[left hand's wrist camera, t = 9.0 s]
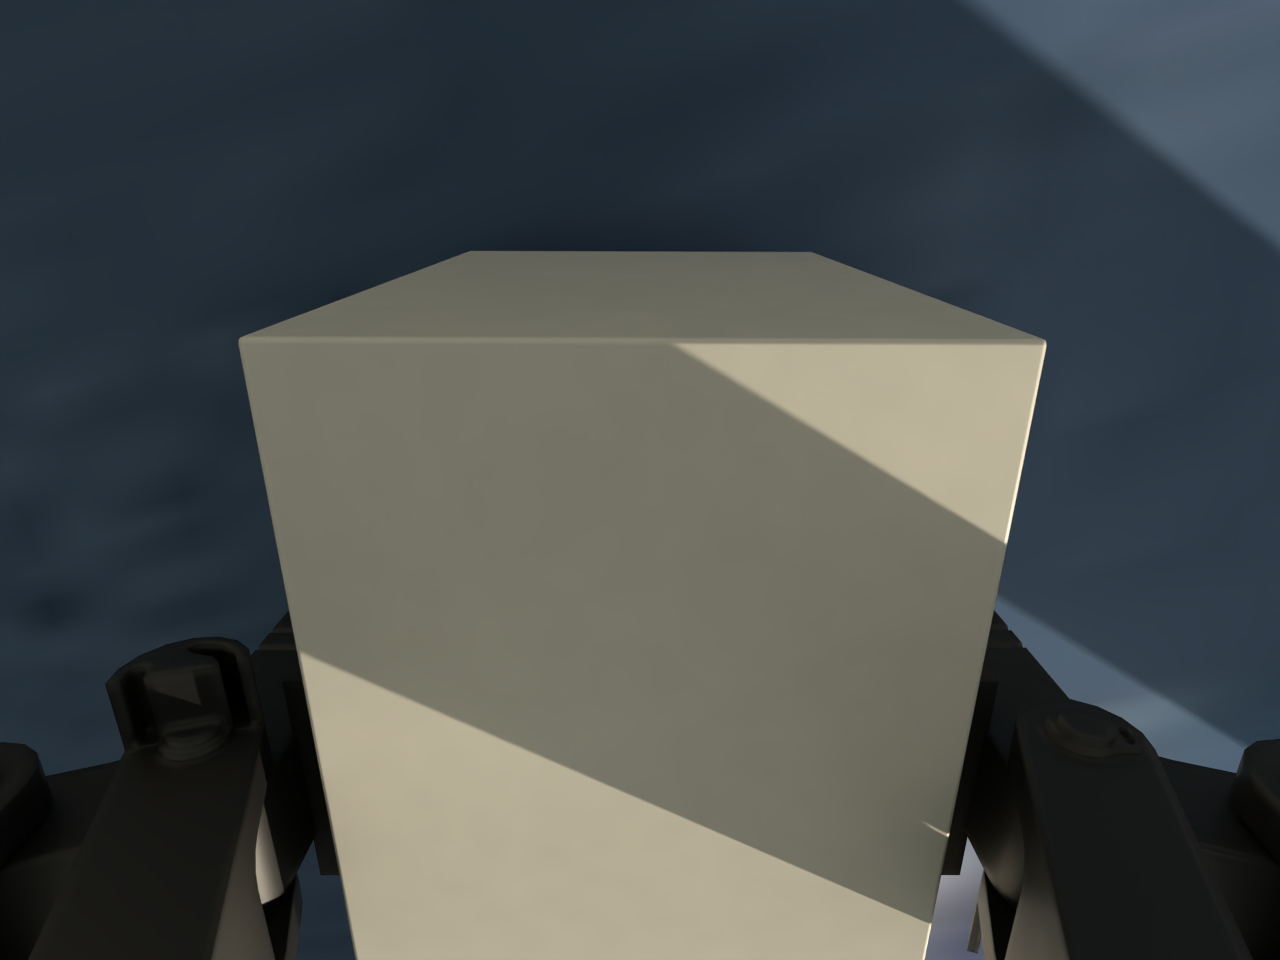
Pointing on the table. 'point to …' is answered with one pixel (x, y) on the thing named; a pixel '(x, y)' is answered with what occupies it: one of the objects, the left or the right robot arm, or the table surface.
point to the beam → (641, 596)
